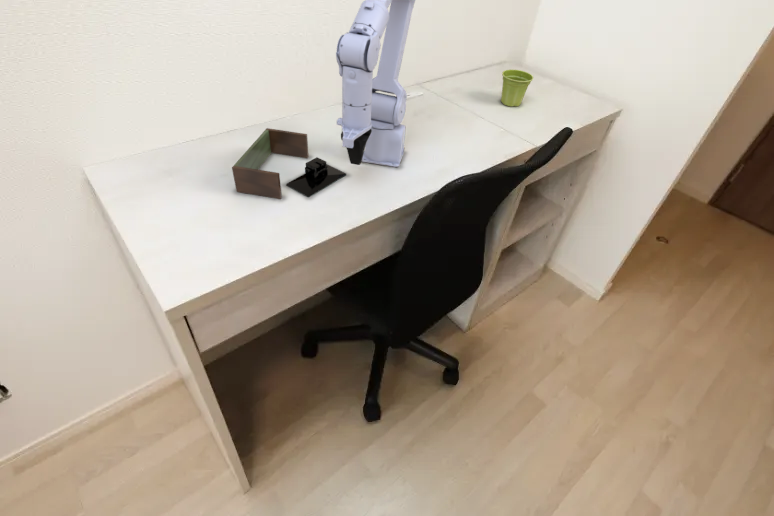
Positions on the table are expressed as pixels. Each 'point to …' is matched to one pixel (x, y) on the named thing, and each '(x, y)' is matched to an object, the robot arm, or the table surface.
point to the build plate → (315, 177)
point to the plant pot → (514, 86)
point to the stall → (255, 156)
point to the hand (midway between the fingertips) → (355, 162)
